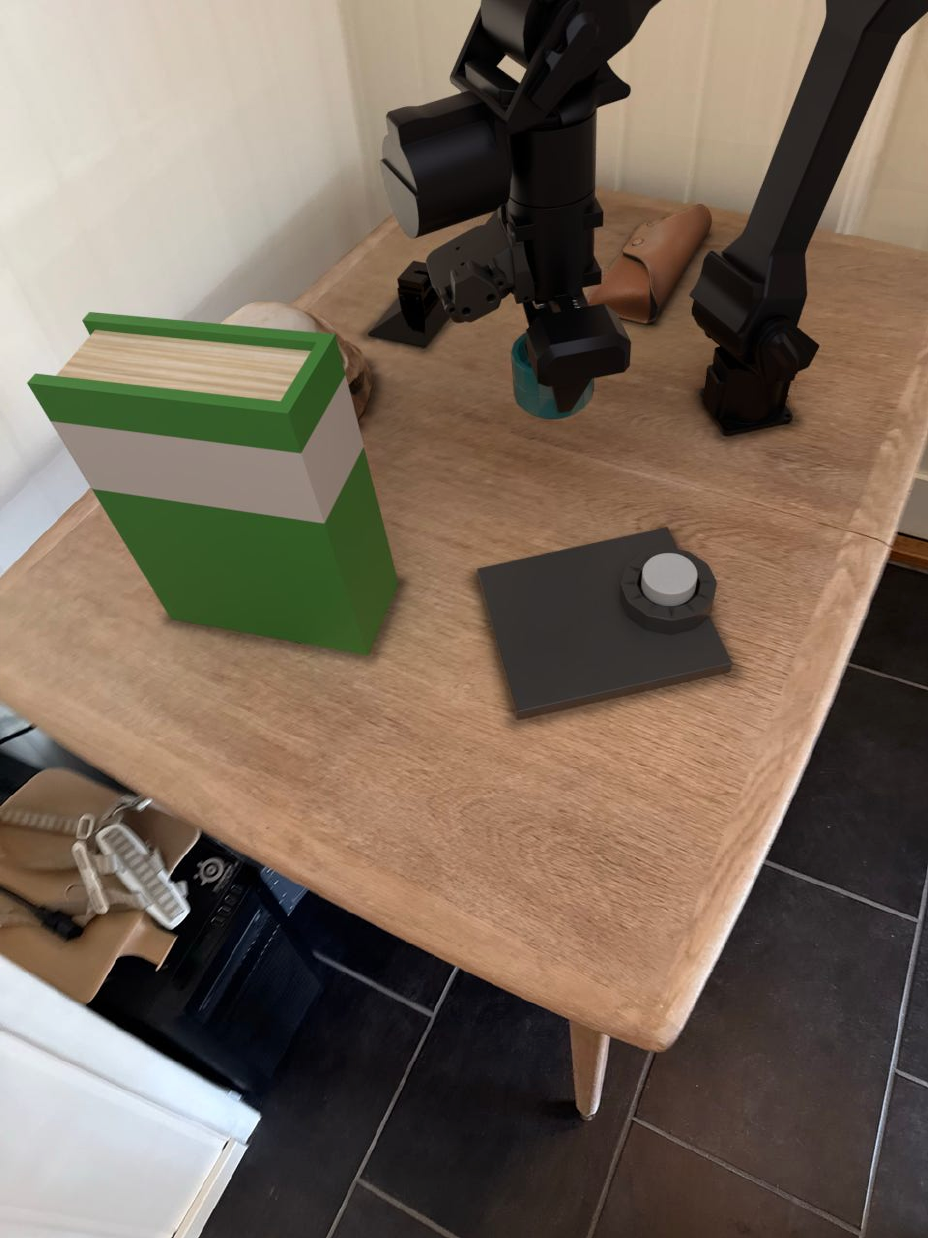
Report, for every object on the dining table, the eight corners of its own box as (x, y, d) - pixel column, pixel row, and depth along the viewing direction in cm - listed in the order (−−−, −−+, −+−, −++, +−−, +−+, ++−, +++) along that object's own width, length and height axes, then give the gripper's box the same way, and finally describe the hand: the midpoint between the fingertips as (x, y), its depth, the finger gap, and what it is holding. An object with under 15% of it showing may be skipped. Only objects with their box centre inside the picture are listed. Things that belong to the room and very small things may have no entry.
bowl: (582, 366, 71) (582, 318, 68) (602, 414, 68) (604, 365, 64) (507, 380, 71) (504, 333, 68) (523, 429, 67) (521, 381, 64)
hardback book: (170, 618, 73) (26, 382, 54) (210, 552, 77) (89, 311, 58) (368, 655, 68) (287, 413, 49) (398, 583, 72) (335, 334, 53)
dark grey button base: (677, 533, 73) (680, 508, 70) (743, 669, 64) (749, 646, 62) (477, 577, 72) (474, 553, 70) (517, 721, 63) (514, 699, 61)
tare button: (684, 561, 67) (686, 547, 66) (703, 600, 65) (705, 587, 64) (634, 572, 67) (635, 559, 66) (651, 612, 65) (652, 599, 64)
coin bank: (368, 351, 92) (336, 239, 80) (388, 475, 83) (356, 369, 71) (222, 383, 92) (170, 276, 81) (227, 510, 83) (169, 410, 72)
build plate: (425, 350, 92) (418, 311, 88) (365, 337, 94) (356, 298, 90) (476, 283, 98) (472, 244, 94) (419, 273, 100) (413, 234, 97)
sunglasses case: (638, 219, 101) (671, 173, 95) (686, 256, 102) (722, 213, 96) (580, 307, 92) (613, 262, 86) (634, 347, 93) (670, 305, 87)
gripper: (407, 143, 62) (435, 334, 74) (450, 287, 50) (474, 485, 63) (562, 115, 62) (564, 310, 74) (640, 252, 51) (626, 455, 63)
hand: (554, 384), depth 68 cm, fingers closed on bowl, 6 cm apart
